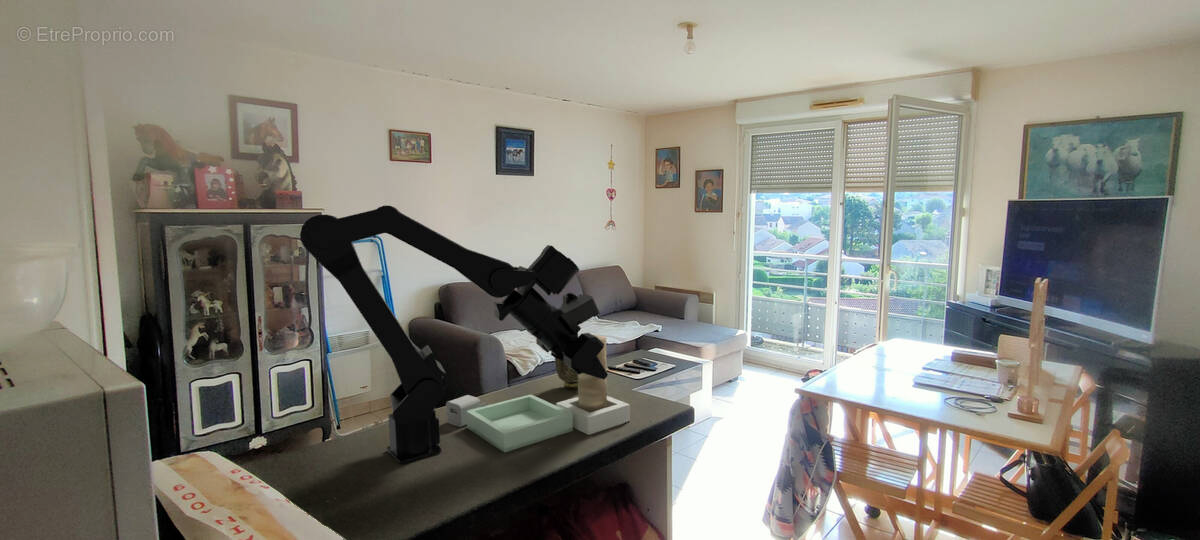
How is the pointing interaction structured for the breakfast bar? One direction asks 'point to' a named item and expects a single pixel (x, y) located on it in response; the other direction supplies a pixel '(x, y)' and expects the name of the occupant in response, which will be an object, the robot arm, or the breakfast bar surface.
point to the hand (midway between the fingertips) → (599, 373)
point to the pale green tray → (519, 422)
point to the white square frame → (597, 415)
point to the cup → (566, 375)
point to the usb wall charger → (461, 409)
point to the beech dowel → (593, 386)
